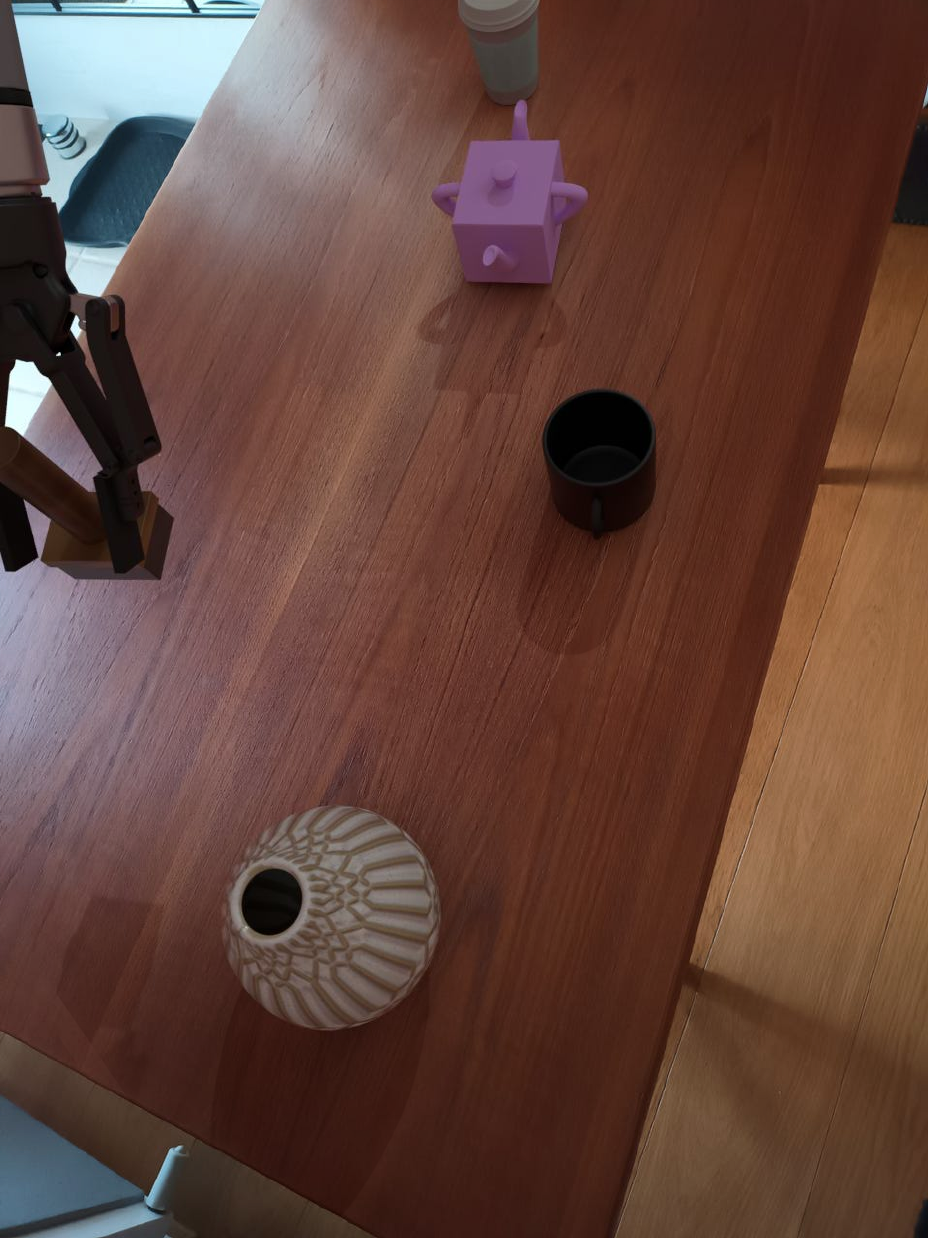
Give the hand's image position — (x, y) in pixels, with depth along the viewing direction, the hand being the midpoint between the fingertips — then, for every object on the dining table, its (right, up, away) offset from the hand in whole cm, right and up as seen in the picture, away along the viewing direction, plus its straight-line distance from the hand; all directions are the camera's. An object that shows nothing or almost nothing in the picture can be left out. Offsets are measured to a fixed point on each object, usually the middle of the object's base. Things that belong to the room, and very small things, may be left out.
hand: (75, 564), depth 64 cm
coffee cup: (+32, +56, +43) cm, 78 cm away
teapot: (+32, +35, +35) cm, 58 cm away
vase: (+18, -28, +14) cm, 36 cm away
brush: (+1, +2, +6) cm, 6 cm away
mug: (+39, +7, +23) cm, 46 cm away
